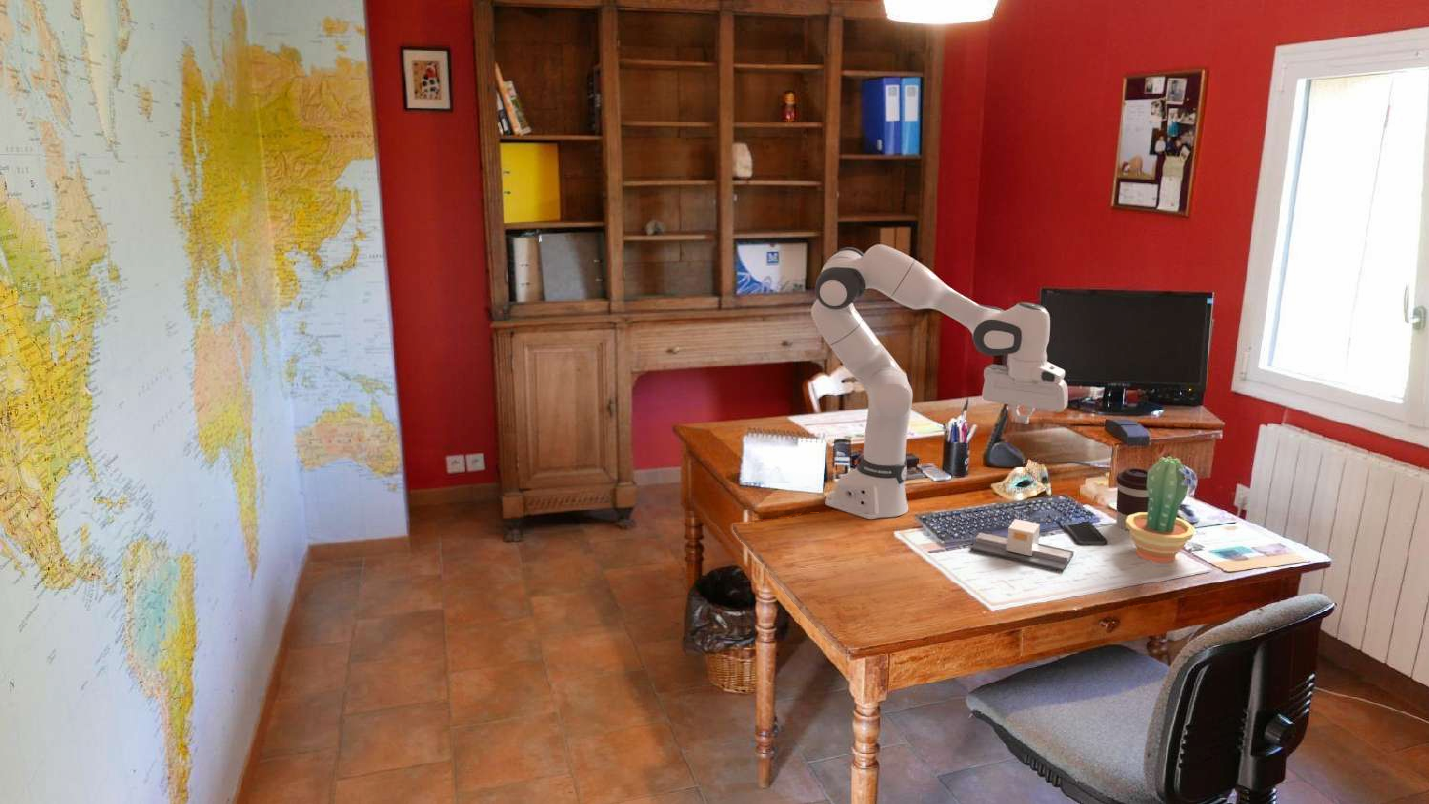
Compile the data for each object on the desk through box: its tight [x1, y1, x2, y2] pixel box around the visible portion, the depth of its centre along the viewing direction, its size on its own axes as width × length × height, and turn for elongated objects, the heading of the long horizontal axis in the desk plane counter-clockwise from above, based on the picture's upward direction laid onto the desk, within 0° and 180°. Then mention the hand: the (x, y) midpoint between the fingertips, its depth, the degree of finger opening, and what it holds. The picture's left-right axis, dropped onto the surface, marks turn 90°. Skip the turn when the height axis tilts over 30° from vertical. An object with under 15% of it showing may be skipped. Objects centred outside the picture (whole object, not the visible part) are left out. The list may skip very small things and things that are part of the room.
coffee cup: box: [1115, 467, 1149, 531], centre depth 251 cm, size 10×10×15 cm
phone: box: [1063, 519, 1108, 546], centre depth 249 cm, size 8×1×15 cm
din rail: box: [970, 532, 1075, 574], centre depth 237 cm, size 22×11×2 cm, turn 59°
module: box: [1006, 518, 1041, 556], centre depth 236 cm, size 6×6×6 cm
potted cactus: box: [1126, 455, 1199, 564], centre depth 234 cm, size 15×15×25 cm
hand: (1021, 422), depth 242 cm, fingers closed
